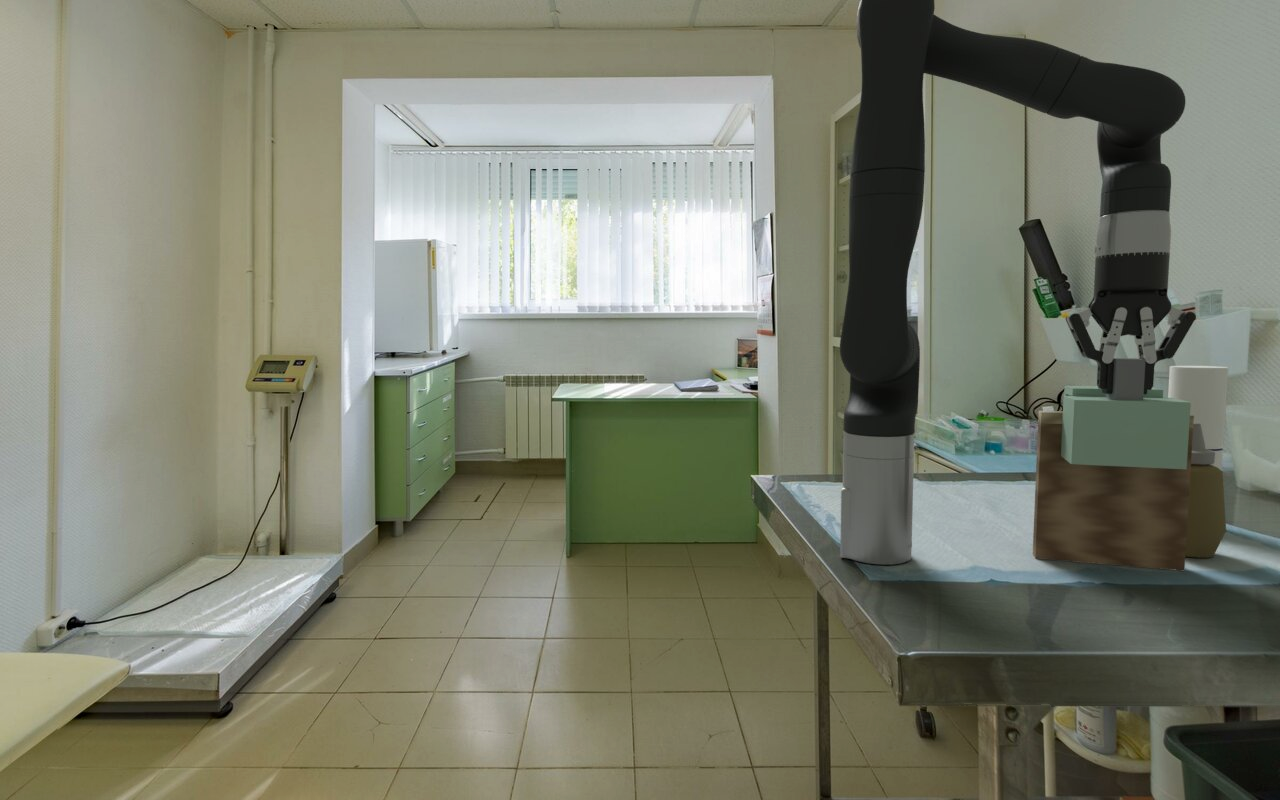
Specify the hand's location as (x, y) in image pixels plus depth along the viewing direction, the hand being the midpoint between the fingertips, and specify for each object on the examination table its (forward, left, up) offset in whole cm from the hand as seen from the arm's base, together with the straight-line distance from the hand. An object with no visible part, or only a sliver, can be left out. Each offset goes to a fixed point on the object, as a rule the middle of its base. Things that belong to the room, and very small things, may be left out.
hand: (1124, 393), depth 90 cm
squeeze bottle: (+12, +13, -23) cm, 29 cm away
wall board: (0, +7, -23) cm, 24 cm away
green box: (0, +2, -9) cm, 9 cm away
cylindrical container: (+17, +29, -23) cm, 41 cm away
